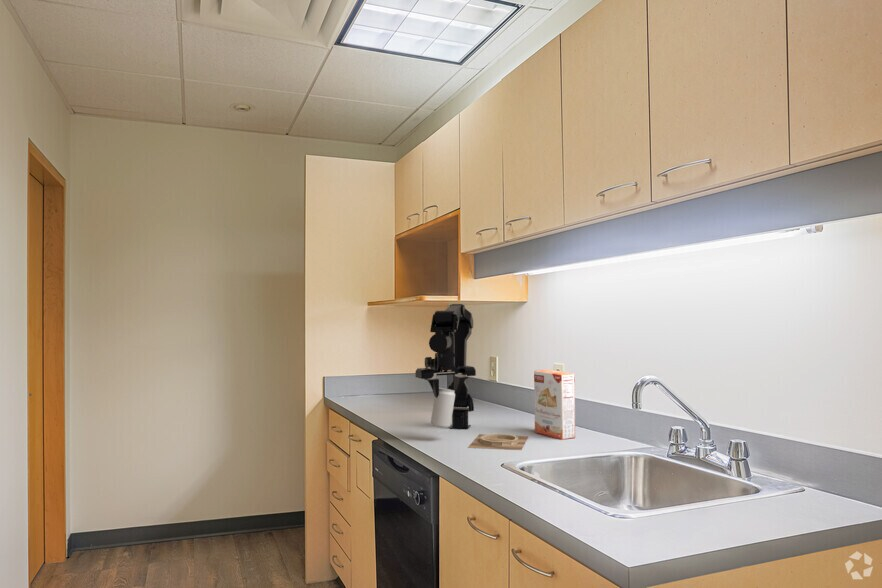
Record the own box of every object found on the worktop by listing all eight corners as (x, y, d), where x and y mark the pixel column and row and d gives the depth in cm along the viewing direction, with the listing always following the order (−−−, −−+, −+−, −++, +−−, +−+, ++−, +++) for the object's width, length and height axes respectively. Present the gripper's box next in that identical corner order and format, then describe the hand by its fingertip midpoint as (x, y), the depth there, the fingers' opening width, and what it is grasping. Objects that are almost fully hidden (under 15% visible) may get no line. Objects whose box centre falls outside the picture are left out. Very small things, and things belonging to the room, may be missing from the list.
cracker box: (533, 433, 216) (532, 370, 216) (547, 431, 219) (547, 368, 219) (561, 440, 203) (560, 373, 204) (576, 438, 207) (575, 372, 207)
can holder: (479, 435, 212) (479, 430, 212) (528, 437, 209) (528, 432, 209) (467, 448, 193) (467, 443, 193) (521, 451, 189) (521, 445, 189)
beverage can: (426, 425, 204) (432, 387, 204) (436, 424, 209) (442, 387, 210) (444, 429, 200) (450, 390, 201) (453, 428, 206) (459, 390, 207)
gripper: (461, 347, 217) (461, 394, 216) (409, 349, 209) (409, 398, 209) (476, 349, 206) (476, 398, 206) (421, 352, 199) (422, 402, 199)
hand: (446, 399), depth 205 cm, fingers closed on beverage can, 6 cm apart
